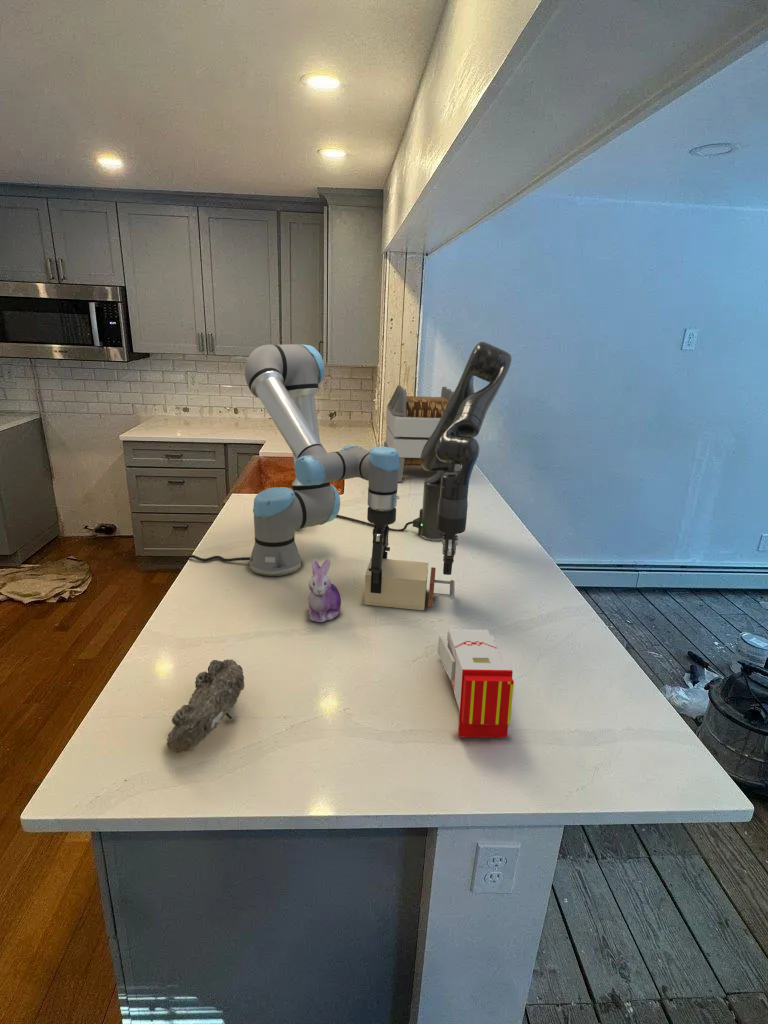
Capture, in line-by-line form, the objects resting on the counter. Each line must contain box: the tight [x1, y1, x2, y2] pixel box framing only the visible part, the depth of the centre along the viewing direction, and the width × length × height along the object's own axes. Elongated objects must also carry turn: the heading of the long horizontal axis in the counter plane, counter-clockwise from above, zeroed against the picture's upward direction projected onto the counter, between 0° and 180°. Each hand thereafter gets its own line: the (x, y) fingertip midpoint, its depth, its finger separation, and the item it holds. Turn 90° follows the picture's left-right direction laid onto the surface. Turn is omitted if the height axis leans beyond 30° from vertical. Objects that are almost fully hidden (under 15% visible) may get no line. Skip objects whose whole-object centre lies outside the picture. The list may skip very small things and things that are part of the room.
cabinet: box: [363, 557, 429, 611], centre depth 154 cm, size 16×11×9 cm
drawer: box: [427, 567, 456, 608], centre depth 154 cm, size 20×10×7 cm, turn 83°
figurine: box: [308, 558, 342, 623], centre depth 143 cm, size 9×10×15 cm
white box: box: [383, 384, 462, 483], centre depth 268 cm, size 34×33×41 cm
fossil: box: [166, 658, 245, 754], centre depth 106 cm, size 22×10×15 cm
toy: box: [437, 628, 515, 738], centre depth 117 cm, size 12×13×30 cm
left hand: (378, 582), depth 155 cm, fingers closed on cabinet, 11 cm apart
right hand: (447, 573), depth 152 cm, fingers closed
